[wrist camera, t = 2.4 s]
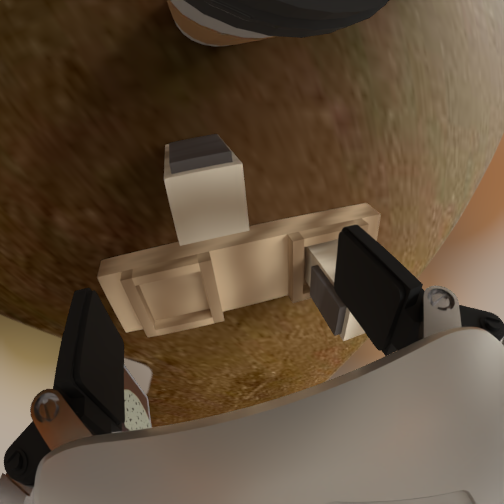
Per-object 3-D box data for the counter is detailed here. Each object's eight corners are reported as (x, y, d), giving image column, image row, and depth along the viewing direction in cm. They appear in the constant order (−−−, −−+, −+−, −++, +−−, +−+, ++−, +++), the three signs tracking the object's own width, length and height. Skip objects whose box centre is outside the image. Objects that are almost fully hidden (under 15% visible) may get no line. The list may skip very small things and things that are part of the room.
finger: (163, 137, 20) (161, 168, 13) (216, 126, 20) (241, 152, 14) (174, 192, 22) (179, 245, 16) (224, 182, 23) (249, 230, 17)
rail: (366, 202, 28) (435, 261, 20) (359, 258, 32) (413, 321, 24) (101, 260, 24) (82, 354, 15) (127, 314, 28) (125, 404, 19)
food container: (76, 361, 30) (70, 432, 22) (118, 355, 31) (118, 430, 23) (115, 405, 37) (118, 463, 29) (151, 401, 38) (158, 461, 30)
